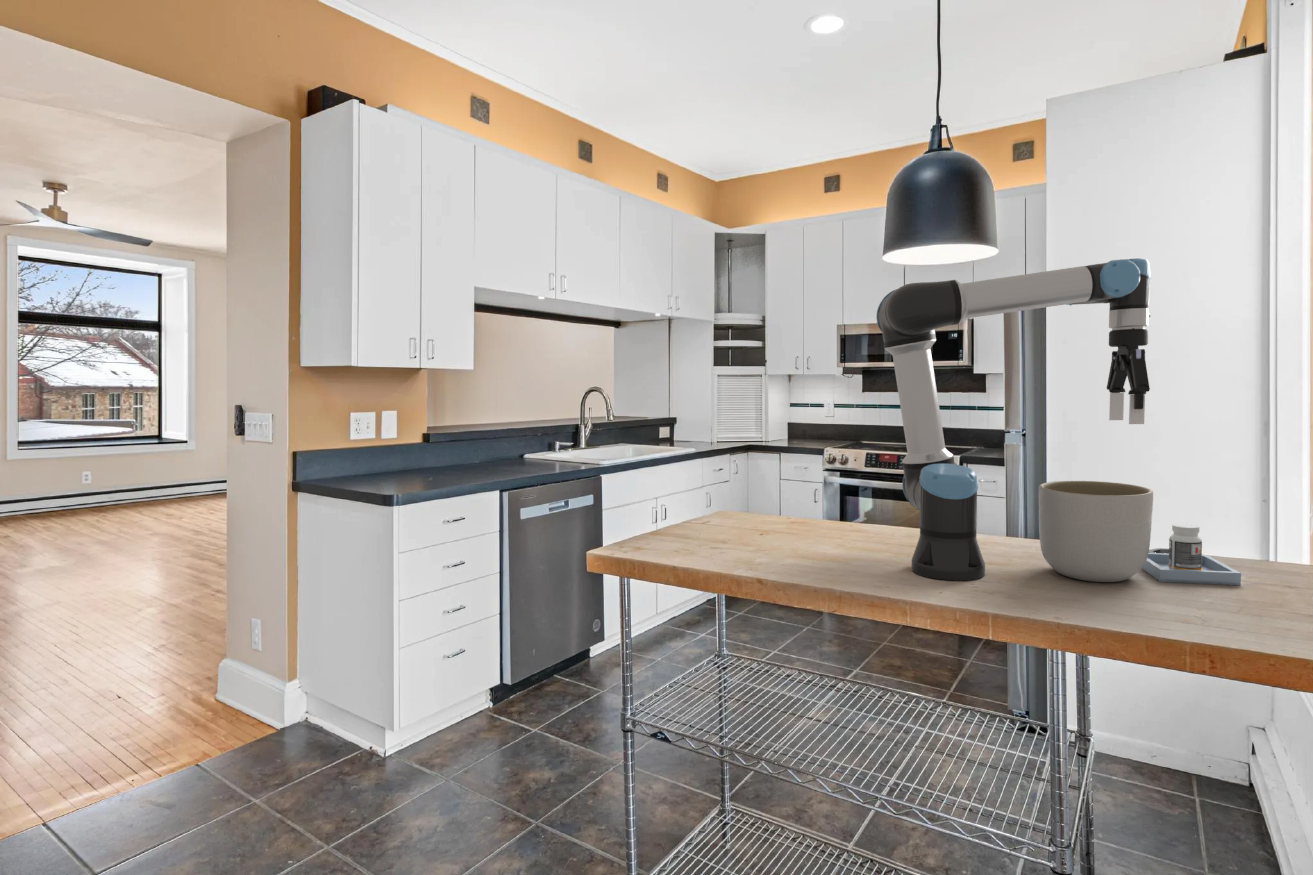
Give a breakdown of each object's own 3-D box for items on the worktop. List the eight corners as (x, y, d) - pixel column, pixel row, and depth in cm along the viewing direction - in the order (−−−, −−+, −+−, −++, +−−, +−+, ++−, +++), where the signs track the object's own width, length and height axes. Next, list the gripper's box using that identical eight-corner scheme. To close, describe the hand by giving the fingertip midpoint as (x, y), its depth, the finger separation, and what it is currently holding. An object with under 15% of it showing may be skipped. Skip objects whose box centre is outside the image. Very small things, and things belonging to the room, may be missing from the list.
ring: (1158, 563, 163) (1158, 557, 163) (1142, 552, 173) (1142, 547, 173) (1210, 565, 160) (1210, 559, 160) (1190, 554, 170) (1191, 549, 170)
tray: (1160, 581, 149) (1160, 569, 149) (1134, 563, 164) (1134, 552, 163) (1240, 585, 145) (1241, 573, 145) (1206, 566, 160) (1207, 555, 160)
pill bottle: (1208, 573, 153) (1209, 527, 152) (1187, 576, 151) (1188, 529, 150) (1181, 566, 158) (1183, 522, 157) (1161, 569, 157) (1163, 524, 156)
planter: (1133, 565, 162) (1136, 481, 160) (1165, 592, 142) (1168, 497, 140) (1030, 560, 168) (1031, 479, 167) (1046, 585, 149) (1048, 494, 147)
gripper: (1169, 324, 151) (1166, 425, 153) (1128, 331, 175) (1126, 418, 177) (1128, 326, 153) (1125, 426, 155) (1093, 332, 177) (1091, 418, 179)
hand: (1125, 422), depth 166 cm, fingers open, 13 cm apart
